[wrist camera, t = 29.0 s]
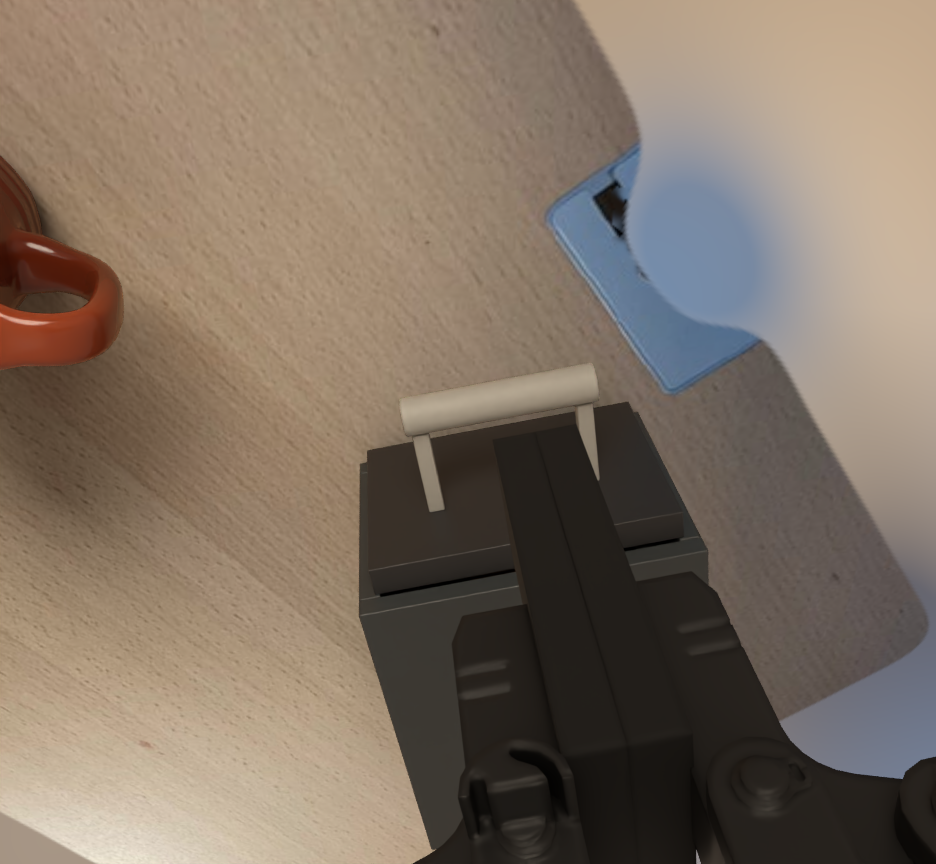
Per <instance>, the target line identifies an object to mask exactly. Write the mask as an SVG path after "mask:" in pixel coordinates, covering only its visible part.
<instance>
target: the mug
mask: <svg viewBox="0 0 936 864" xmlns="http://www.w3.org/2000/svg"><path fill="white" fill-rule="evenodd" d="M49 292H64V293H70V294H74V295H77V296H80V297H82V298H84V299H86V300H88V301H89V302H88V303H87V304H86V305H84V306H83V307H82V308H80V309H78V310H74V311H71V312H64V313H32V312H25V311H20V310H17V308H18V307H19V305H20V304H21V303H22V302H23V300H24V299H25V298H26V296H27V295H28V294H37V293H49ZM123 317H124V299H123V291H122V286H121V283H120V281H119V278H118V277H117V275H116V273H115V272H114V271H113V270H112V269H111V268H110V266H108V265H107V264H106V263H105V262H103V261H101V260H100V259H98V258H96V257H94V256H91V255H89V254H86V253H84V252H81V251H79V250H76V249H74V248H72V247H69V246H67V245H65V244H63V243H61V242H59V241H56V240H54V239H52V238H49V237H46V236H43V235H42V228H41V222H40V217H39V214H38V210H37V207H36V204H35V201H34V198H33V196H32V194H31V192H30V190H29V188H28V187H27V186H26V184H25V183H24V181H23V180H22V179H21V178H20V176H19V175H18V174H17V173H16V171H15V170H14V169H13V168H12V167H11V166H10V165H9V164H8V163H7V162H6V161H5V160H4V159H3V158H2V157H1V156H0V370H5V369H11V368H16V367H24V366H65V365H73V364H78V363H82V362H85V361H88V360H91V359H93V358H95V357H97V356H99V355H101V354H103V353H104V352H105V351H106V350H107V349H109V347H110V346H111V345H112V344H113V342H114V341H115V340H116V338H117V336H118V334H119V332H120V329H121V326H122V323H123Z"/></svg>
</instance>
